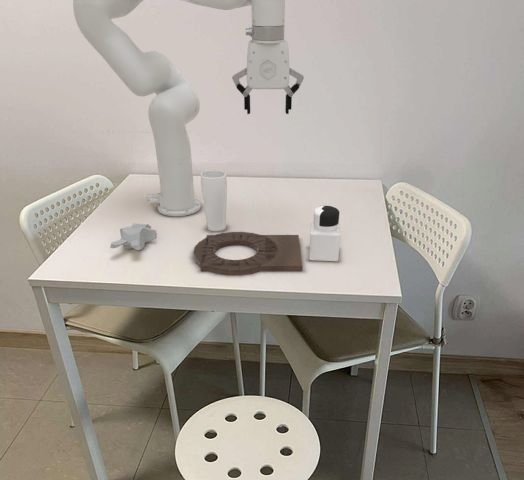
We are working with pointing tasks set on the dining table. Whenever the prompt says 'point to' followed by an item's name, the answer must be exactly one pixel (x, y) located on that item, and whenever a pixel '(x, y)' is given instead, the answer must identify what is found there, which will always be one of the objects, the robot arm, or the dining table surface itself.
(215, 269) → the holder board
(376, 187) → the dining table surface
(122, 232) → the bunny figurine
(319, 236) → the medicine bottle
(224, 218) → the drinking glass
